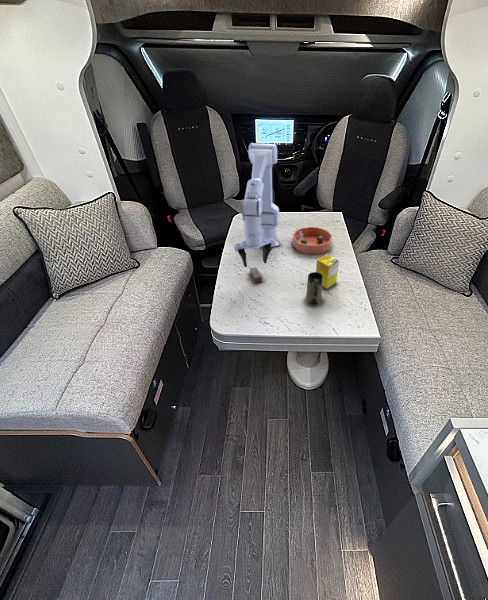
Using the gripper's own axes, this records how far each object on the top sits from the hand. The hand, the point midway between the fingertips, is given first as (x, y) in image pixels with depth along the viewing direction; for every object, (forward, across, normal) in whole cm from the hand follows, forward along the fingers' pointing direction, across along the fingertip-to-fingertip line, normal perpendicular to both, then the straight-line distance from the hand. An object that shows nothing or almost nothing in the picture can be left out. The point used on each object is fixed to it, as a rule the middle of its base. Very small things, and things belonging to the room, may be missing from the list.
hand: (255, 263), depth 129 cm
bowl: (+6, +31, +16) cm, 36 cm away
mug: (+7, +15, -22) cm, 27 cm away
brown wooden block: (+6, 0, 0) cm, 7 cm away
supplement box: (+7, +24, -13) cm, 28 cm away
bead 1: (+6, +27, +16) cm, 32 cm away
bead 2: (+6, +35, +16) cm, 39 cm away
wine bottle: (+7, +19, +42) cm, 47 cm away
